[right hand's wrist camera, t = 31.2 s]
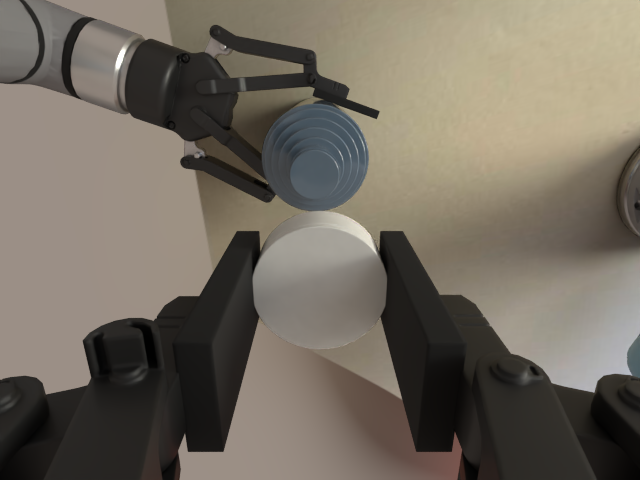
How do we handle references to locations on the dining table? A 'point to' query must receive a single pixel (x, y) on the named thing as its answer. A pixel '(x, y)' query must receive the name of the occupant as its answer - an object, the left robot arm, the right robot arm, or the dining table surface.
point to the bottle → (315, 156)
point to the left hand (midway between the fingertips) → (360, 155)
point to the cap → (319, 281)
